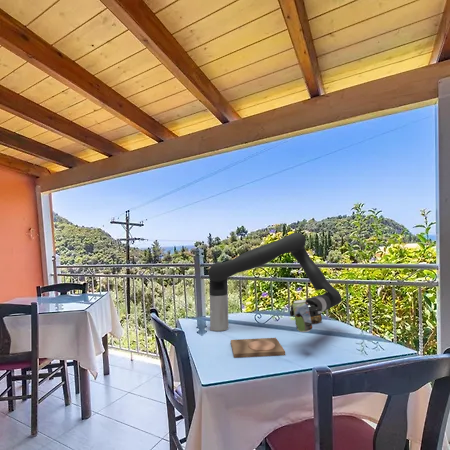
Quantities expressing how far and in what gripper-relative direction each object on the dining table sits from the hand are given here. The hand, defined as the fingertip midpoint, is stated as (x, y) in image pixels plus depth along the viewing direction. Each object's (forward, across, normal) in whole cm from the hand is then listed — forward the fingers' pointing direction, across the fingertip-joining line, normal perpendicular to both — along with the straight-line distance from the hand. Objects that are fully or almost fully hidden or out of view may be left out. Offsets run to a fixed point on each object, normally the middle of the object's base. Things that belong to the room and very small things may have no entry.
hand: (295, 314), depth 121 cm
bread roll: (-45, -15, +16) cm, 50 cm away
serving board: (+6, -15, +16) cm, 22 cm away
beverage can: (-2, +2, +7) cm, 7 cm away
